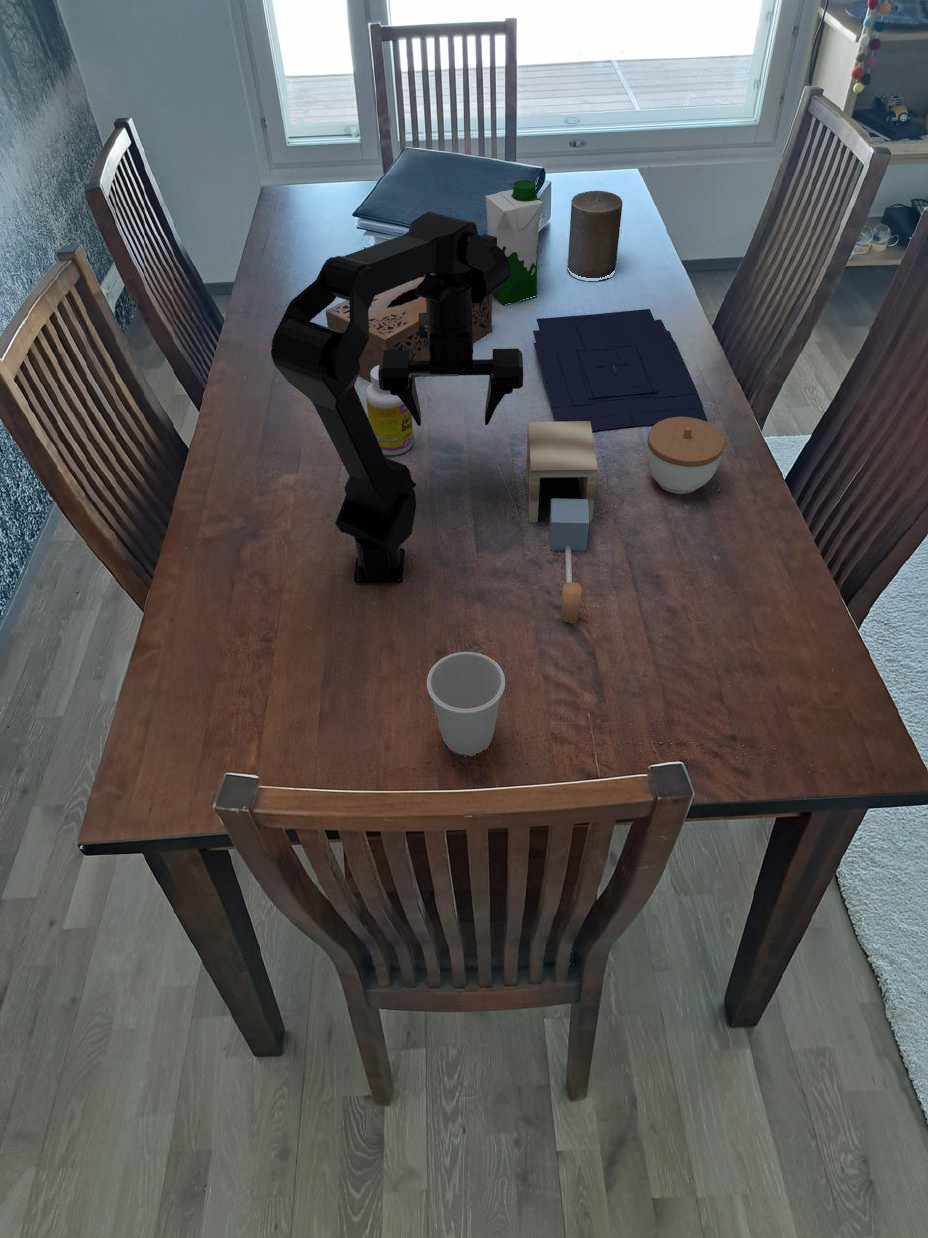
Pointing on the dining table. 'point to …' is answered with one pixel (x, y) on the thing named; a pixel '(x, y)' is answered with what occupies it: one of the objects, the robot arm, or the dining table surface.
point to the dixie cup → (466, 699)
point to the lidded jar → (683, 453)
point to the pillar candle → (594, 233)
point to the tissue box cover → (401, 324)
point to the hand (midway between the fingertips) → (453, 423)
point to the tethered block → (569, 546)
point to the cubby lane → (560, 459)
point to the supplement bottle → (388, 418)
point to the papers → (614, 370)
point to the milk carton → (516, 237)
